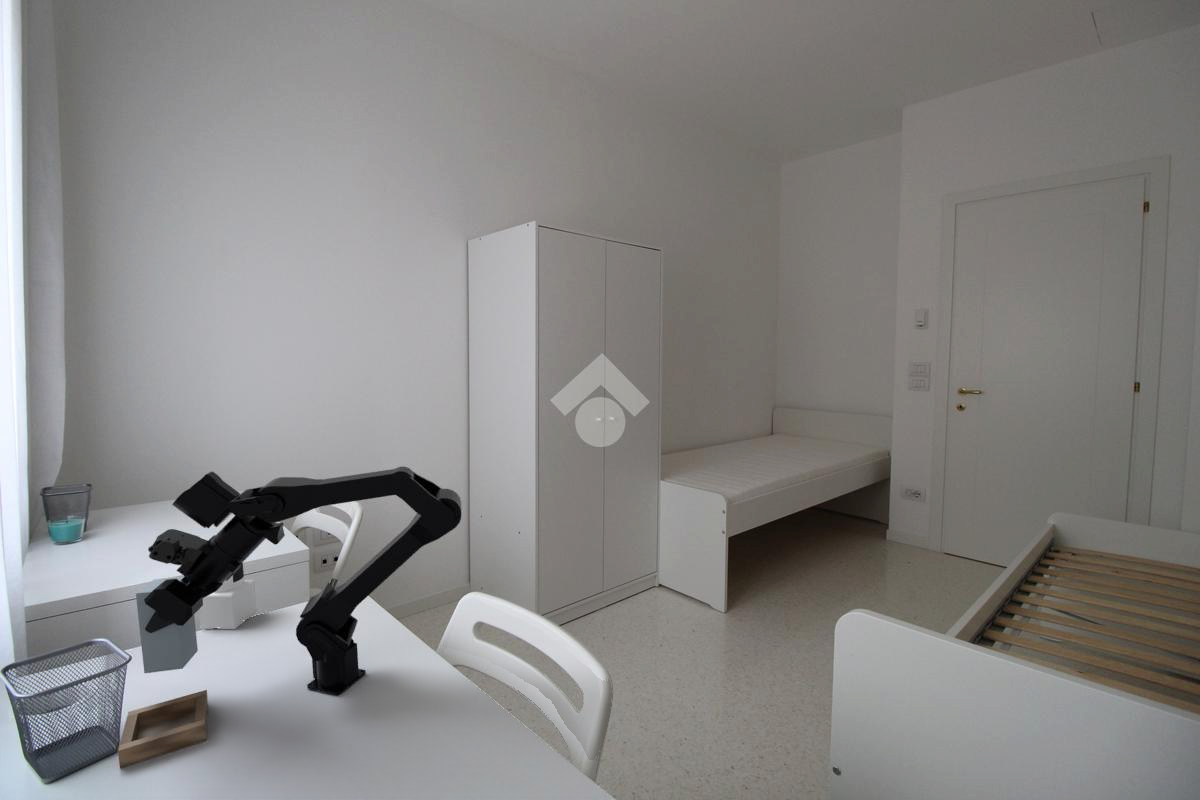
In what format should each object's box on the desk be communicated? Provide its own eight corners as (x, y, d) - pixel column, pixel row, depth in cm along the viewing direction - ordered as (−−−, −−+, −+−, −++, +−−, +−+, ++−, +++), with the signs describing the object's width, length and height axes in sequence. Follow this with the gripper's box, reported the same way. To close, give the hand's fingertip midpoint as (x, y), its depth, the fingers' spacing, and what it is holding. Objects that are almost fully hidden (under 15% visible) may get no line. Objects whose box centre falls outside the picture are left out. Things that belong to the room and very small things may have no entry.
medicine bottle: (224, 612, 118) (219, 556, 116) (258, 612, 118) (253, 556, 116) (199, 629, 111) (194, 570, 109) (234, 630, 110) (230, 571, 109)
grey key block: (197, 650, 90) (190, 576, 89) (182, 668, 86) (174, 589, 84) (161, 655, 89) (153, 579, 88) (144, 673, 84) (135, 593, 83)
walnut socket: (208, 704, 88) (206, 689, 88) (206, 740, 80) (204, 723, 80) (130, 727, 83) (128, 711, 82) (119, 768, 75) (117, 750, 75)
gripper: (213, 496, 95) (144, 566, 94) (154, 533, 77) (67, 621, 75) (269, 537, 97) (202, 606, 96) (224, 582, 79) (141, 668, 78)
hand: (157, 622), depth 86 cm, fingers closed on grey key block, 5 cm apart
